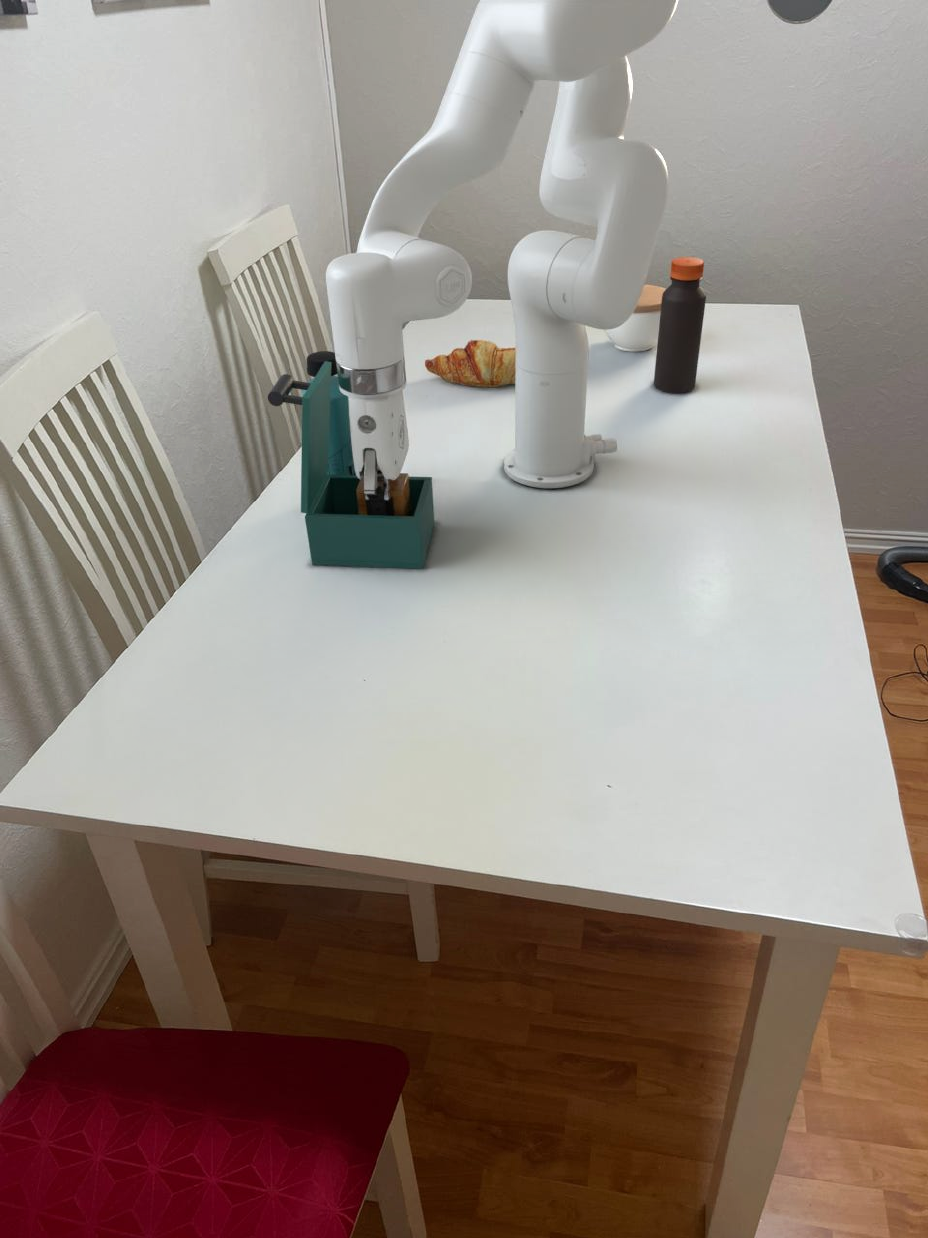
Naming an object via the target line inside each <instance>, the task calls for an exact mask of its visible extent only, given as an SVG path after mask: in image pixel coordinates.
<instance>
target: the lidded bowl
mask: <svg viewBox="0 0 928 1238" xmlns="http://www.w3.org/2000/svg"><path fill="white" fill-rule="evenodd" d="M666 289H667V288H664V287H661V286H658V285H651V284H644V287H643V290H642V293H641V296H640V299H639V302H638V304H637V306H636V308H635V310H634V312H633V313H632V315H631V316H630V317H629V319H628V320H627V321H626V322H625V323H623V324H622V325H621V326H619V327H617V328H614V329H610V330H604V333H605V335H606V336H607V338H608V339H609V340H610V341H611V342H612V343H613V346H614V348H615V349H618V350H620V351H624V352H631V353H634V352H635V353H636V352H637V353H638V352H645V351H649V350H651V349H652V348H653V347H654V345H656V343H658V333H659V323H660V312H661V302H662V295H663V292H664V291H665V290H666Z"/></svg>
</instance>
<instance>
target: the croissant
mask: <svg viewBox="0 0 928 1238" xmlns="http://www.w3.org/2000/svg"><path fill="white" fill-rule="evenodd" d="M515 365H516V347H506V348H505V347H499V346H498V345H497V344H496V342H495V343H494V342H492V341H490V340H484V339H475V340H473V339H470V340H469V341H467V344H466V345H465V347H464V348H463V347H456V348H454V349H453V350H452V351H451V353H449V354H447V355H446V354H439V355H437V356H435V357H434V358H433V359H429V358H428V359H425V361H424V366H425V368H426V370H427V372H429V373H431V374H434V375H436V376H437V377H440V378H441V379H442V380H444V381H446V382H449V383H451V384H458V385H462V386H467V387H473V388H474V387H482V388H483V387H484V388H495V387H496V388H497V387H502V386H507V385H515Z"/></svg>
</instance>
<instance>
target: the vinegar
mask: <svg viewBox="0 0 928 1238" xmlns="http://www.w3.org/2000/svg"><path fill="white" fill-rule="evenodd" d="M704 268H705V260H703V259H701V258H698V257H691V256H681V257H676V258H674V259H672V260H671V262H670V272H669V273H670V277H669V279H670V281H671V283H670V285H669V286H668V287H667V288H665V289H666V290H665V291H664V292H663V295H662V302H661V312H660V323H659V333H658V342H657V345H656V353H655V354H656V355H655V365H654V374H653V375H654V376H653V386H654V387H655V388H656V389H657V390H658V391H661V392H663V393H668V394H683V393H688V392H690V391H692V390H693V389H695V387H696V382H697V374H698V373H697V372H698V366H699V365H698V364H699V357H700V349H701V341H702V333H703V325H704V319H705V318H704V316H705V309H706V301H707V300H706V299H707V293H706V292H705V291H704V289H703V288H702V287H701V285H700V282H701V281H703V274H704Z"/></svg>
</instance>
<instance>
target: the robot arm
mask: <svg viewBox="0 0 928 1238" xmlns="http://www.w3.org/2000/svg"><path fill="white" fill-rule="evenodd" d="M678 2H679V0H479V1H478V3H477V6H476V8H475V10H474V12H473V15H472V18H471V21H470V23H469V25H468V29H467V31H466V34H465V37H464V39H463V42H462V45H461V48H460V50H459V53H458V56H457V59H456V61H455V65H454V67H453V70H452V73H451V75H450V79H449V81H448V83H447V86H446V89H445V92H444V94H443V97H442V99H441V102H440V105H439V108H438V110H437V114H436V115H435V118H434V121H433V123H432V125H431V127H430V128H429V129H428V130H427V132H426V133H425V134H424V135H423V136H422V137H421V138H420V139H419V140H418V141H416V143H414V145H413V146H412V147H411V148H410V149H409V150H408V152H406V153H405V154H404V156H403V157H402V158H401V160H399V162H398V163H397V164H396V165H395V166H394V167H393V169H392V170H391V171H390V172H389V174H388V175H387V176H386V178H385V179H384V180H383V182H382V183H381V185H380V187H379V188H378V190H377V191H376V194H375V196H374V198H373V200H372V203H371V205H370V208H369V210H368V213H367V216H366V219H365V221H364V224H363V227H362V230H361V233H360V236H359V239H358V242H357V248H356V252H352V253H347V254H343V255H341V256H338V257H335V258H334V259H332V260H331V261H330V263H329V264H328V265H327V267H326V271H325V285H326V293H327V301H328V309H329V317H330V324H331V332H332V333H331V334H332V339H333V340H332V341H333V350H334V353H335V358H336V366H337V374H336V375H337V377H338V382H339V390H340V391H341V393H343V394H344V395H346V396H348V401H349V419H350V432H351V444H352V453H353V461H354V468H355V473H356V476H357V477H358V478H359V479H360V480H362V479H363V477H364V494H365V499H366V507H367V515H379V516H395V513H394V503H393V498H391V497H390V481H389V479H391V480H396V479H397V478H398V477H399V475H400V473H402V470H403V467H404V464H405V461H406V459H407V455H408V452H409V446H410V438H409V431H408V422H407V415H406V407H405V399H404V393H403V390H404V389H405V388H406V387H407V374H406V372H407V371H406V362H405V361H406V360H405V348H404V347H405V346H404V334H403V333H404V332H403V324H405V323H407V322H415V321H416V322H417V321H425V320H434V319H435V320H436V319H439V318H443V317H447V316H449V315H452V314H453V313H455V312H456V311H458V309H460V308H461V307H462V306H463V305H464V303H465V302H466V301H467V299H468V298H469V295H470V293H471V290H472V286H473V273H472V270H471V267H470V265H469V263H468V261H467V260H466V258H465V257H464V256H463V255H462V254H461V253H459V252H458V251H456V250H455V249H454V248H452V247H450V246H447V245H445V244H442V243H438V242H435V241H431V240H427V239H424V238H421V237H419V234H420V232H421V230H422V227H423V226H424V224H425V222H426V220H427V219H428V216H429V215H430V214H431V212H432V211H433V210H434V208H435V207H436V206H437V205H438V204H439V202H441V201H442V200H443V199H444V198H446V197H447V196H448V195H449V194H450V193H452V192H453V191H455V190H457V189H459V188H461V187H462V186H464V185H467V184H469V183H472V182H474V181H475V180H478V179H481V178H482V177H484V176H486V175H489V174H490V173H493V172H494V171H496V170H498V169H499V168H501V167H502V166H503V165H504V164H505V163H506V161H507V160H508V157H509V155H510V153H511V150H512V147H513V144H514V142H515V139H516V138H517V134H518V130H519V129H520V126H521V123H522V121H523V118H524V116H525V113H526V110H527V108H528V105H529V103H530V101H531V98H532V95H533V94H534V90H535V88H536V86H537V83H538V81H551V82H558V91H557V97H556V104H555V110H554V114H553V118H552V122H551V127H550V130H549V131H550V132H549V136H548V140H547V145H546V150H545V155H544V159H543V163H542V168H541V174H540V179H539V190H538V191H539V192H538V193H539V200H540V203H541V205H542V207H543V208H544V209H545V211H547V212H548V213H549V214H551V215H552V216H554V217H557V218H559V219H561V220H565V221H567V222H571V223H576V224H581V225H585V226H590V227H595V228H597V231H596V237H595V239H591V238H588V237H586V236H582V235H577V234H574V233H573V234H572V233H570V232H564V231H560V230H552V229H551V230H550V229H544V230H537V231H533V232H531V233H529V234H527V235H525V236H524V237H523V238H521V239H520V240H519V241H518V242H517V244H516V245H515V247H514V248H513V250H512V252H511V254H510V257H509V259H508V265H507V286H508V292H509V296H510V302H511V307H512V314H513V320H514V322H513V323H514V334H515V348H516V365H515V384H514V385H515V386H514V387H515V391H514V393H515V394H514V395H515V398H514V399H515V401H514V404H515V405H514V406H515V407H514V412H515V413H514V414H515V415H514V418H515V419H514V439H515V440H514V441H515V442H514V449H512V450H510V451H509V452H508V453H507V454H506V455H505V458H504V461H503V470H504V471H505V474H506V476H507V477H509V479H511V480H513V481H515V482H516V483H518V484H521V485H523V486H527V487H531V488H536V489H537V488H538V489H563V488H568V487H572V486H576V485H578V484H580V483H582V482H584V481H586V480H587V479H588V478H590V476H591V475H592V474H593V471H594V469H595V468H594V465H595V462H594V458H595V457H596V456H597V455H598V454H611V453H615V452H617V451H618V443H617V439H616V438H615V437H612V438H605V439H603V438H602V435H601V433H597V434H591V435H586V434H585V425H586V406H587V405H586V404H587V388H588V370H589V369H588V368H589V353H590V346H589V345H590V344H589V338H588V333H587V329H586V327H590V328H592V329H596V330H602V331H605V330H610V329H614V328H617V327H619V326H621V325H622V324H623V323H625V322H626V321H627V320H628V319H629V317H630V316H631V315H632V313H633V312H634V310H635V308H636V306H637V304H638V302H639V299H640V296H641V293H642V290H643V287H644V285H646V284H645V283H646V280H647V276H648V274H649V269H650V267H651V262H652V258H653V255H654V252H655V248H656V244H657V241H658V237H659V234H660V229H661V226H662V222H663V219H664V216H665V211H666V207H667V201H668V197H669V171H668V167H667V163H666V161H665V159H664V157H663V155H662V154H661V153H660V152H659V150H658V149H656V148H655V147H654V146H652V145H651V144H649V143H646V142H643V141H639V140H633V139H628V138H625V133H626V128H627V123H628V119H629V115H630V108H631V105H632V98H633V75H632V70H631V66H630V62H629V58H628V55H630V54H631V53H633V52H635V51H637V50H639V49H640V48H641V47H642V48H643V47H644V46H646V45H647V44H649V43H650V42H652V41H653V40H654V39H655V38H656V37H658V35H660V34H661V33H662V32H663V31H664V30H665V28H666V27H667V25H668V24H669V22H670V21H671V20H672V18H673V16H674V13H675V12H676V8H677V5H678ZM377 473H382V474H377ZM377 481H383V488H384V490H383V488H382V487H381V486H378V485H377Z"/></svg>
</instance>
